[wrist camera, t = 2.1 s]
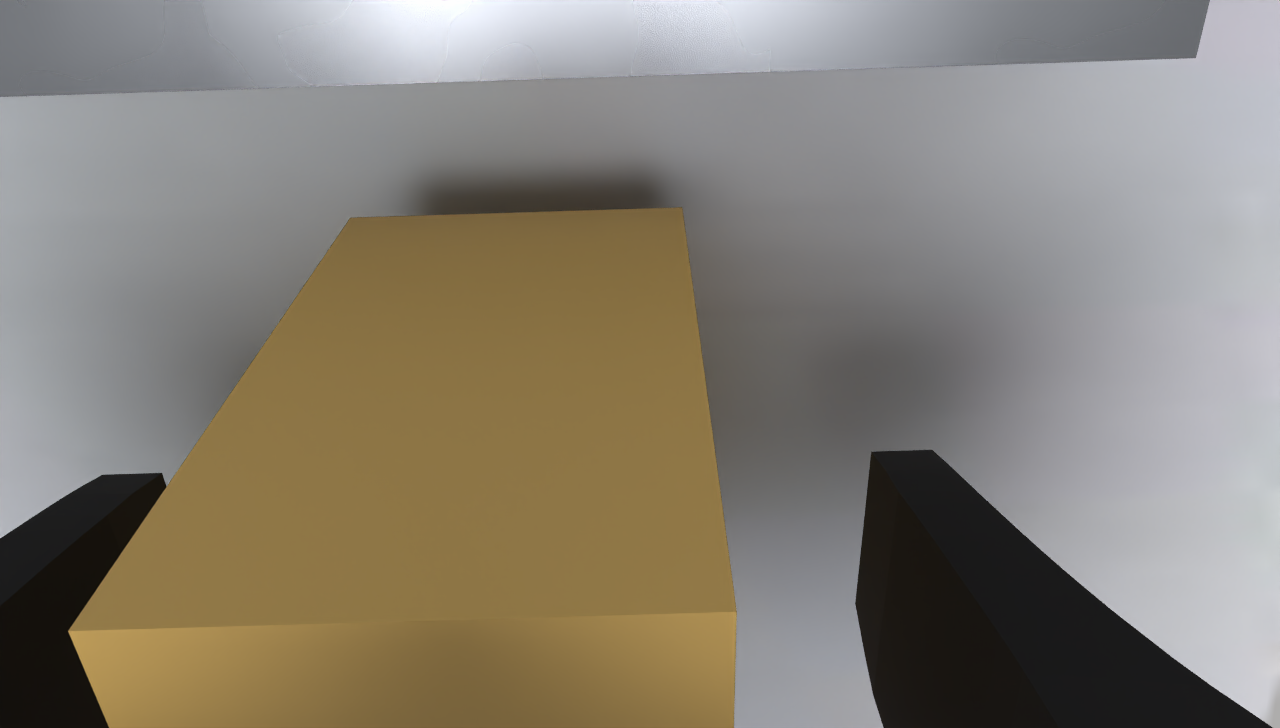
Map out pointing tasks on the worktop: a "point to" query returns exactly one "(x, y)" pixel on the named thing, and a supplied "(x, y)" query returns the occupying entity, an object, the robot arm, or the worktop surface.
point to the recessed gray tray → (550, 39)
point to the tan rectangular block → (445, 499)
